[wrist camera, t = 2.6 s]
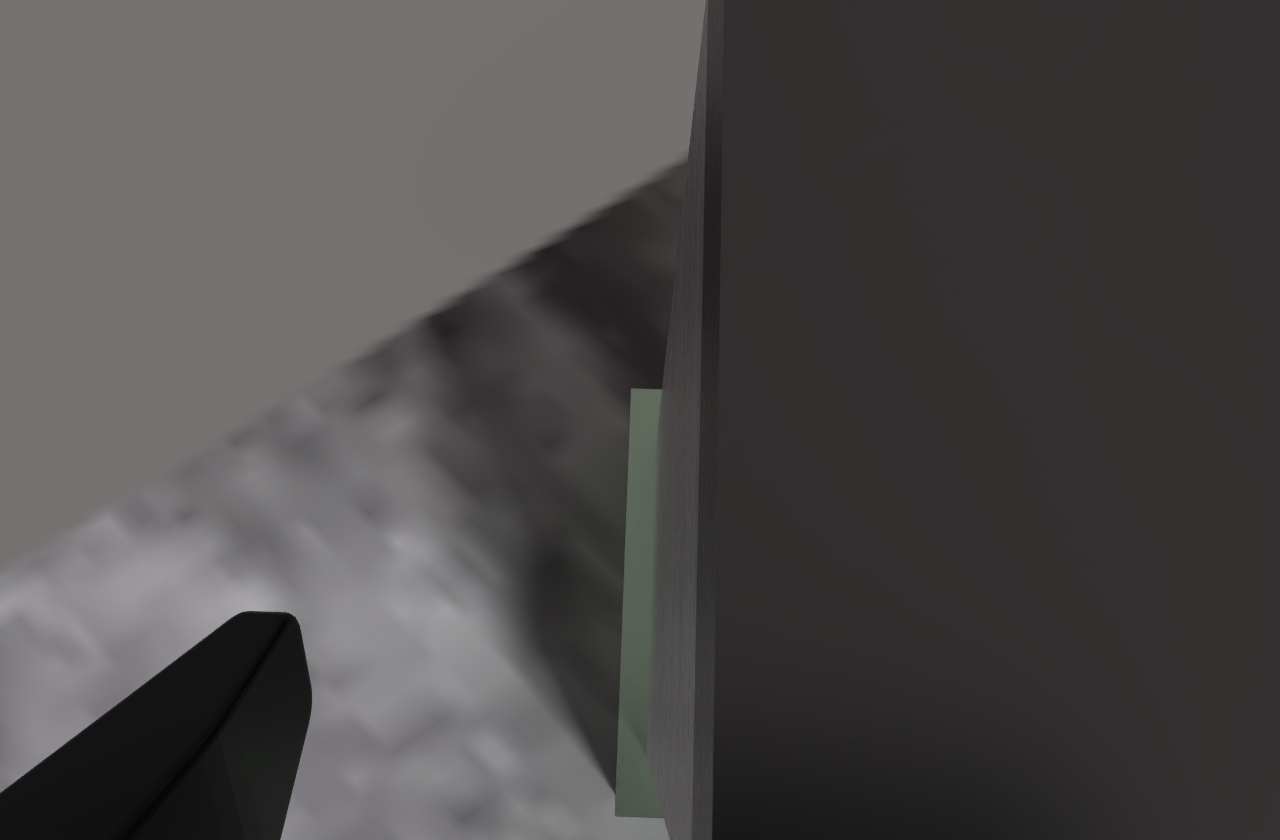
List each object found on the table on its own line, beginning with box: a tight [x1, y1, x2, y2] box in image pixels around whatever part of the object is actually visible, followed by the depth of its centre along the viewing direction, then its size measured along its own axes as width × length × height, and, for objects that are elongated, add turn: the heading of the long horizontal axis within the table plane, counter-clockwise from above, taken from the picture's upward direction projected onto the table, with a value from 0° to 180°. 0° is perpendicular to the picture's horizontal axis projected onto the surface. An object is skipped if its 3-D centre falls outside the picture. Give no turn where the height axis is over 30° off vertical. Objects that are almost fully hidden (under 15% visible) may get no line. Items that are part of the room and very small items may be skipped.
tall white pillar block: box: [615, 0, 1280, 840], centre depth 10 cm, size 6×4×14 cm, turn 178°
